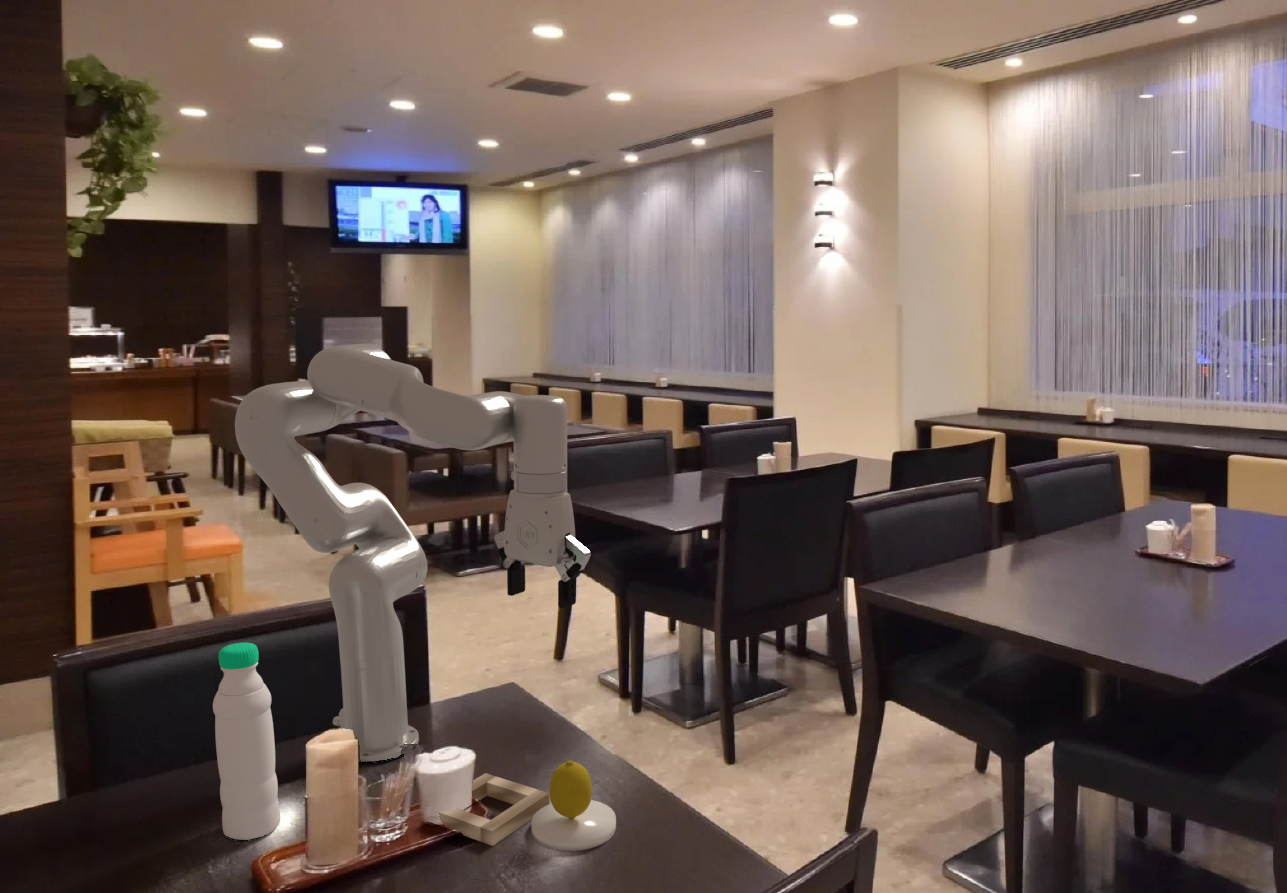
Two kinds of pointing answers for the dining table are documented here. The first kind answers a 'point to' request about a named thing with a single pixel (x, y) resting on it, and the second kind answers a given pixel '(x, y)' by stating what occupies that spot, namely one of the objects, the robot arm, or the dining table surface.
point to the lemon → (570, 789)
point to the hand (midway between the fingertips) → (541, 599)
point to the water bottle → (245, 746)
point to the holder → (504, 823)
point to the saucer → (574, 827)
